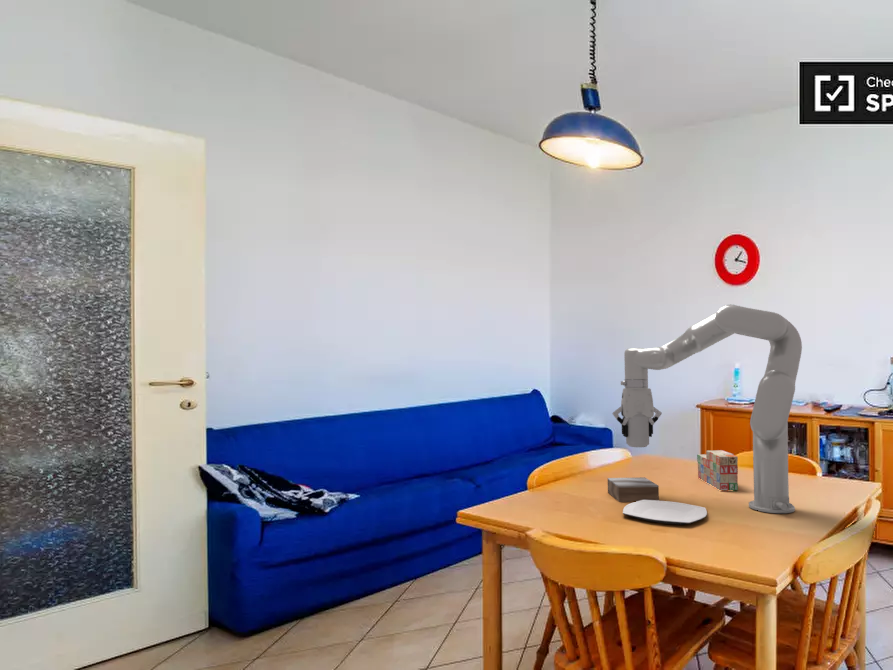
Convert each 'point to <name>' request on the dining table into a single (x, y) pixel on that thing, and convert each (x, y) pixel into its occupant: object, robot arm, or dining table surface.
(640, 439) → the can
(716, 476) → the stack of blocks
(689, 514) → the plate
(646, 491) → the riser
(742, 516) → the dining table surface
